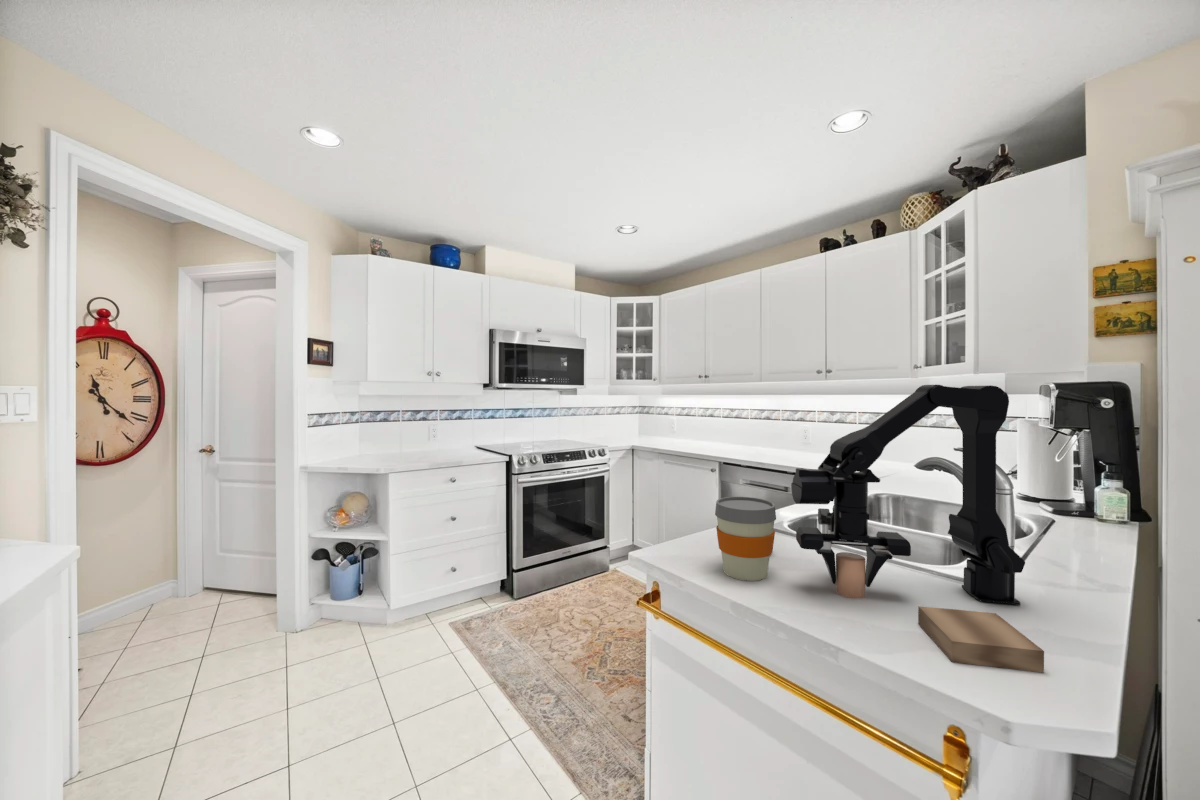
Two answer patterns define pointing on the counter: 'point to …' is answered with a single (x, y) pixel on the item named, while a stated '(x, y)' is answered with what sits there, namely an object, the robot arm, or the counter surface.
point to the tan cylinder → (850, 575)
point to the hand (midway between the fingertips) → (850, 584)
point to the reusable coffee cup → (745, 536)
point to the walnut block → (980, 639)
